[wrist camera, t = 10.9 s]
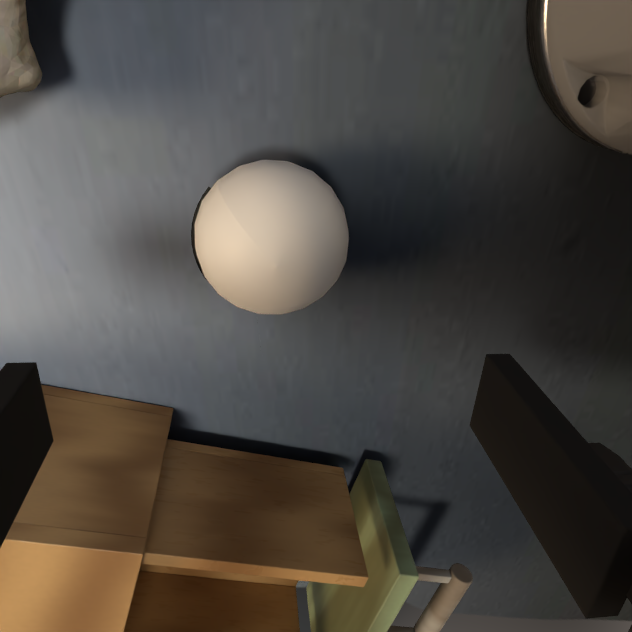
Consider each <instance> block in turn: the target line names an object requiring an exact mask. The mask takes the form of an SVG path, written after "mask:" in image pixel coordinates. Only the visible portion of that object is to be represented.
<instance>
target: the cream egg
mask: <svg viewBox="0 0 632 632" xmlns="http://www.w3.org/2000/svg"><path fill="white" fill-rule="evenodd" d="M191 240H192V248H193V253H194V256H195V259H196V263H197V265H198V267H199V269H200V271H201V273H202V274H203V276H204V277H205V279H206V280H208V282H209V283H210V284H211V285H212V287H213V288H214V289H215V290H216V292H217V293H218V294H219V295H220V296H222V297H223V298H225V299H226V300H228V301H229V302H231V303H232V304H234V305H235V306H237V307H238V308H242V309H245V310H248V311H251V312H255V313H258V314H285V313H289V312H293V311H296V310H300V309H304V308H305V307H307V306H308V305H310V304H312V303H313V302H315V301H317V300H318V299H320V298H322V297H323V296H324V295H325V294H326V292H327V291H328V290H329V289H330V288H331V287H332V286H333V285H334V284H335V282H336V281H337V280H338V278H339V276H340V273H341V271H342V269H343V267H344V265H345V262H346V259H347V251H348V242H349V232H348V226H347V221H346V217H345V212H344V208H343V206H342V204H341V203H340V201H339V199H338V198H337V196H336V194H335V193H334V191H333V189H332V188H331V186H329V185H328V184H327V183H326V182H325V181H323V180H322V179H321V178H320V177H319V176H318V175H316V174H315V173H314V172H313V171H311V170H309V169H306V168H304V167H301V166H299V165H296V164H294V163H291V162H289V161H279V160H259V161H256V162H252V163H248V164H244V165H241V166H239V167H237V168H235V169H234V170H232V171H231V172H229V173H228V174H226V175H225V176H223V177H222V178H220V179H219V180H217V181H216V183H215V184H214V185H213V187H212V188H210V187H208V188H207V190H206V191H205V193H204V194H203V195H202V197H201V199H200V201H199V203H198V205H197V208H196V210H195V213H194V217H193V222H192V230H191ZM257 323H258V322H257Z"/></svg>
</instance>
